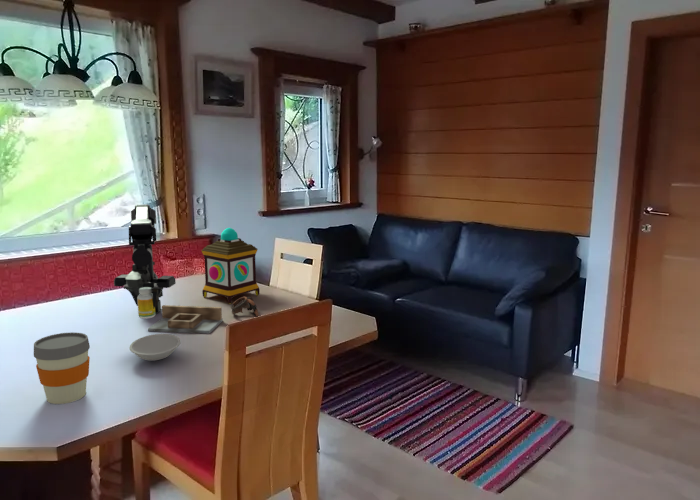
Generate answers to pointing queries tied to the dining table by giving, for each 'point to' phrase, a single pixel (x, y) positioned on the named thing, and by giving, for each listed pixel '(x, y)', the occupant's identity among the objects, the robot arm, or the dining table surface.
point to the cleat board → (188, 319)
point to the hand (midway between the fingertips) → (146, 306)
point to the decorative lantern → (230, 266)
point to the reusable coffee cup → (63, 366)
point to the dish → (155, 346)
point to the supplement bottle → (145, 303)
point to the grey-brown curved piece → (244, 305)
